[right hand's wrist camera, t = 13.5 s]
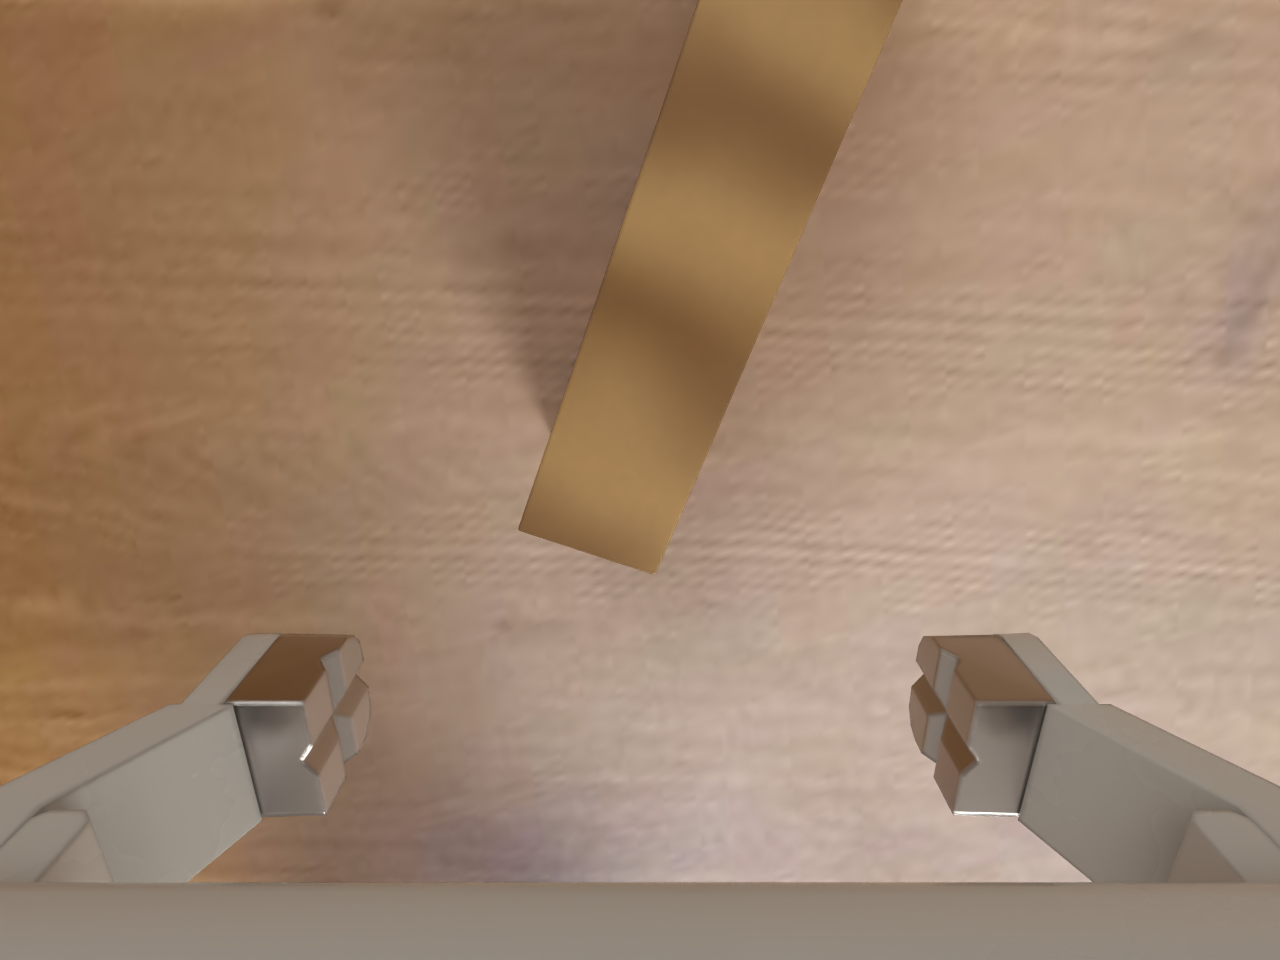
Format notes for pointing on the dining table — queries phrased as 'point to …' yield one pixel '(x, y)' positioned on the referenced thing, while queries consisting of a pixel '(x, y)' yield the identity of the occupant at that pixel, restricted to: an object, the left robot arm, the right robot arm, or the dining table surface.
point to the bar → (699, 263)
